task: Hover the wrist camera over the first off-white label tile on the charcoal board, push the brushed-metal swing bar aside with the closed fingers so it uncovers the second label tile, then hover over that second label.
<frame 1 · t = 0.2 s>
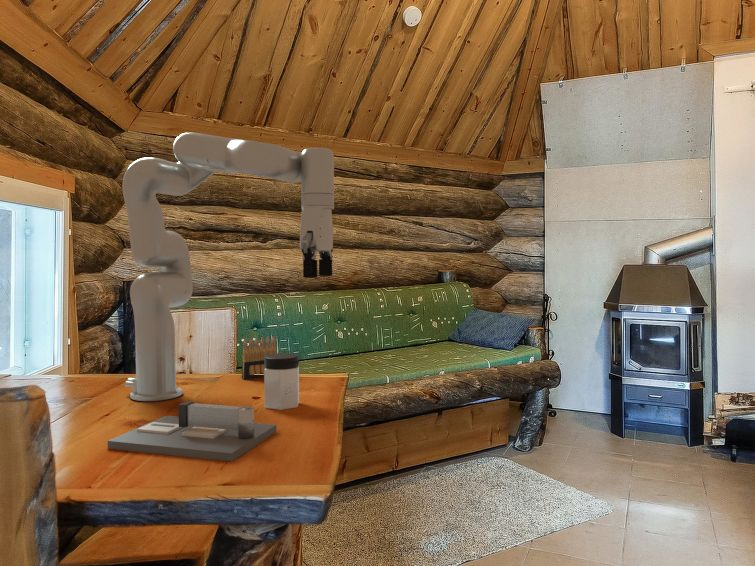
hand: (318, 276, 139), 31 cm above the table, tool pointing down, fingers open, 9 cm apart
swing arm: (217, 419, 116), point 5 cm above the table, hinge at 0.0°
jar: (282, 406, 144), on the table
ammunition clip: (260, 378, 176), on the table
label board: (195, 439, 118), on the table
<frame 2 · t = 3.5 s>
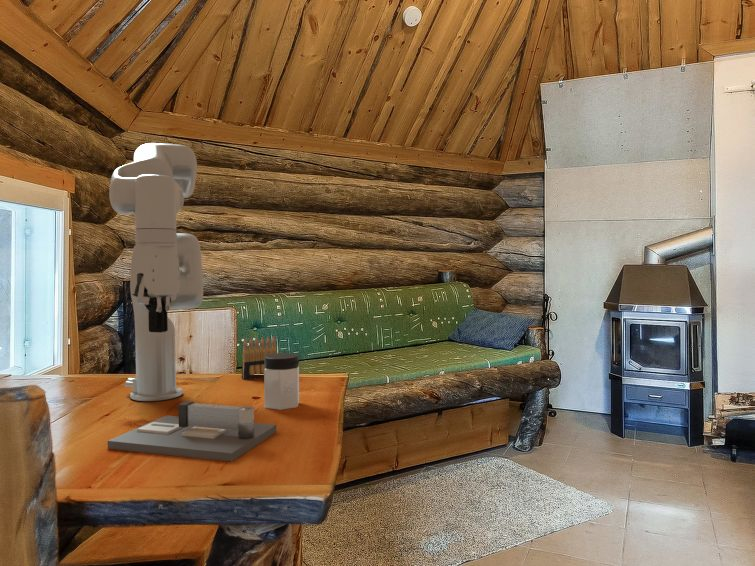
hand: (158, 331, 119), 21 cm above the table, tool pointing down, fingers closed
nothing on the table moved.
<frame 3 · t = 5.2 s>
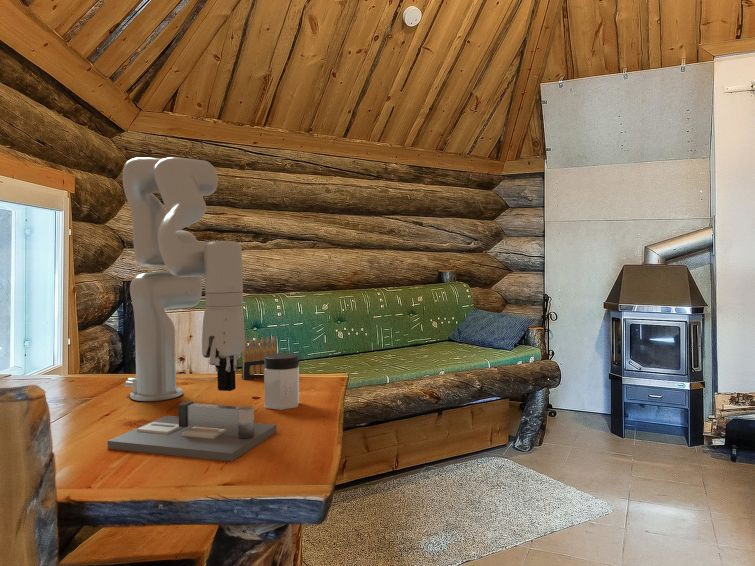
hand: (226, 389, 124), 8 cm above the table, tool pointing down, fingers closed
nothing on the table moved.
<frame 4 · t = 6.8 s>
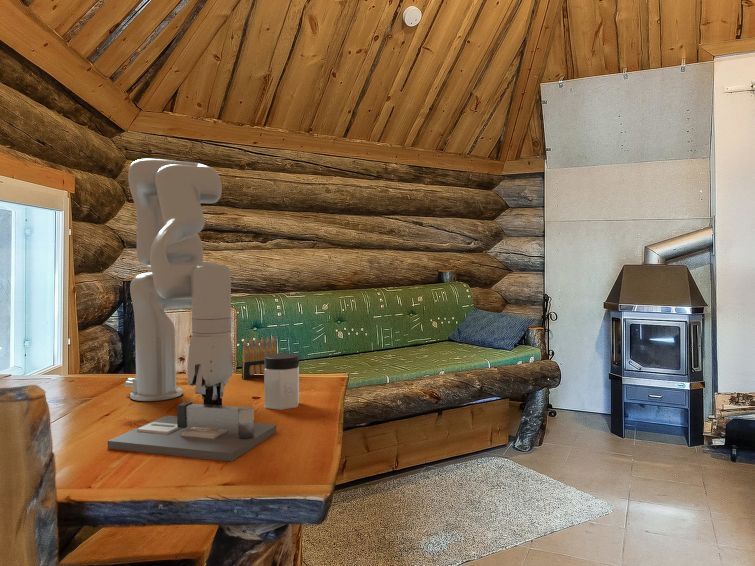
hand: (212, 417, 120), 4 cm above the table, tool pointing down, fingers closed
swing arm: (216, 419, 116), point 5 cm above the table, hinge at 2.2°, touching gripper
everything else where it was.
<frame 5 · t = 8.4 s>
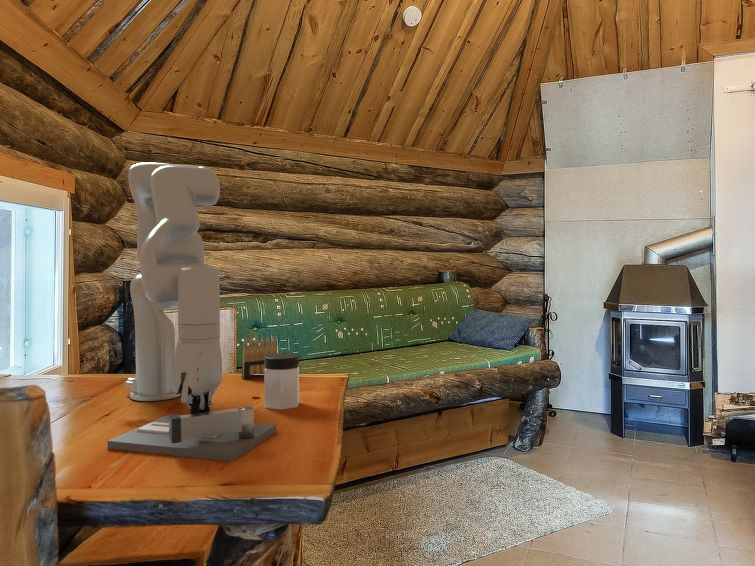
hand: (200, 427, 114), 4 cm above the table, tool pointing down, fingers closed
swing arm: (213, 426, 111), point 5 cm above the table, hinge at 44.3°, touching gripper
everything else where it was.
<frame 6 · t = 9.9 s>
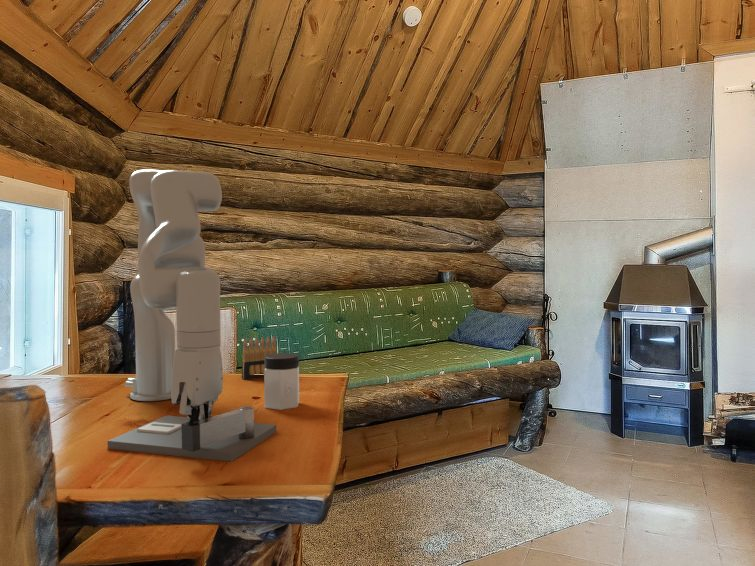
hand: (200, 439, 109), 3 cm above the table, tool pointing down, fingers closed
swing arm: (221, 429, 109), point 5 cm above the table, hinge at 72.6°, touching gripper
everything else where it was.
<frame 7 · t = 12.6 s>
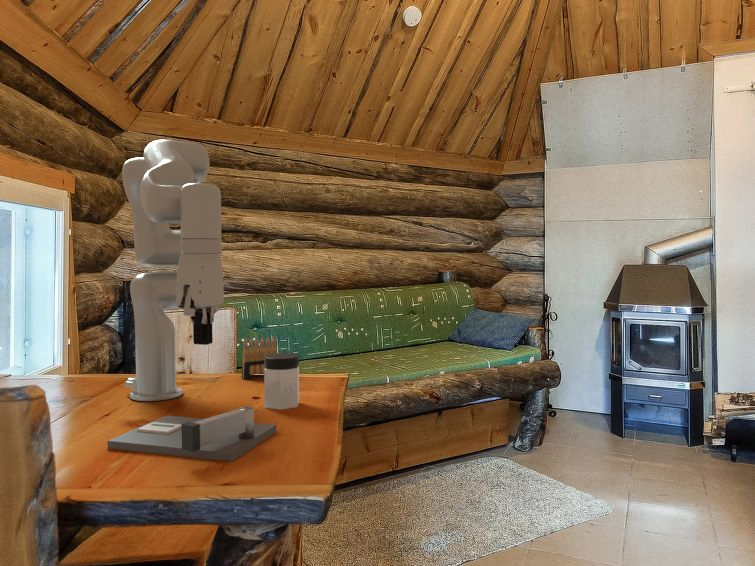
hand: (203, 343, 116), 19 cm above the table, tool pointing down, fingers closed
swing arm: (221, 429, 109), point 5 cm above the table, hinge at 72.6°
everything else where it was.
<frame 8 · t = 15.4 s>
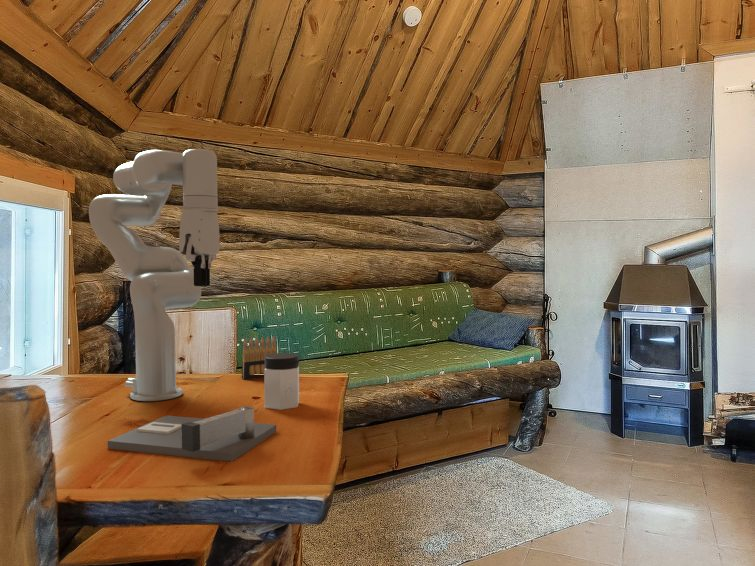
hand: (201, 285, 137), 29 cm above the table, tool pointing down, fingers closed
nothing on the table moved.
at the end: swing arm at +73° (first picture: +0°); jar moved 0.2 cm from its start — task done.
